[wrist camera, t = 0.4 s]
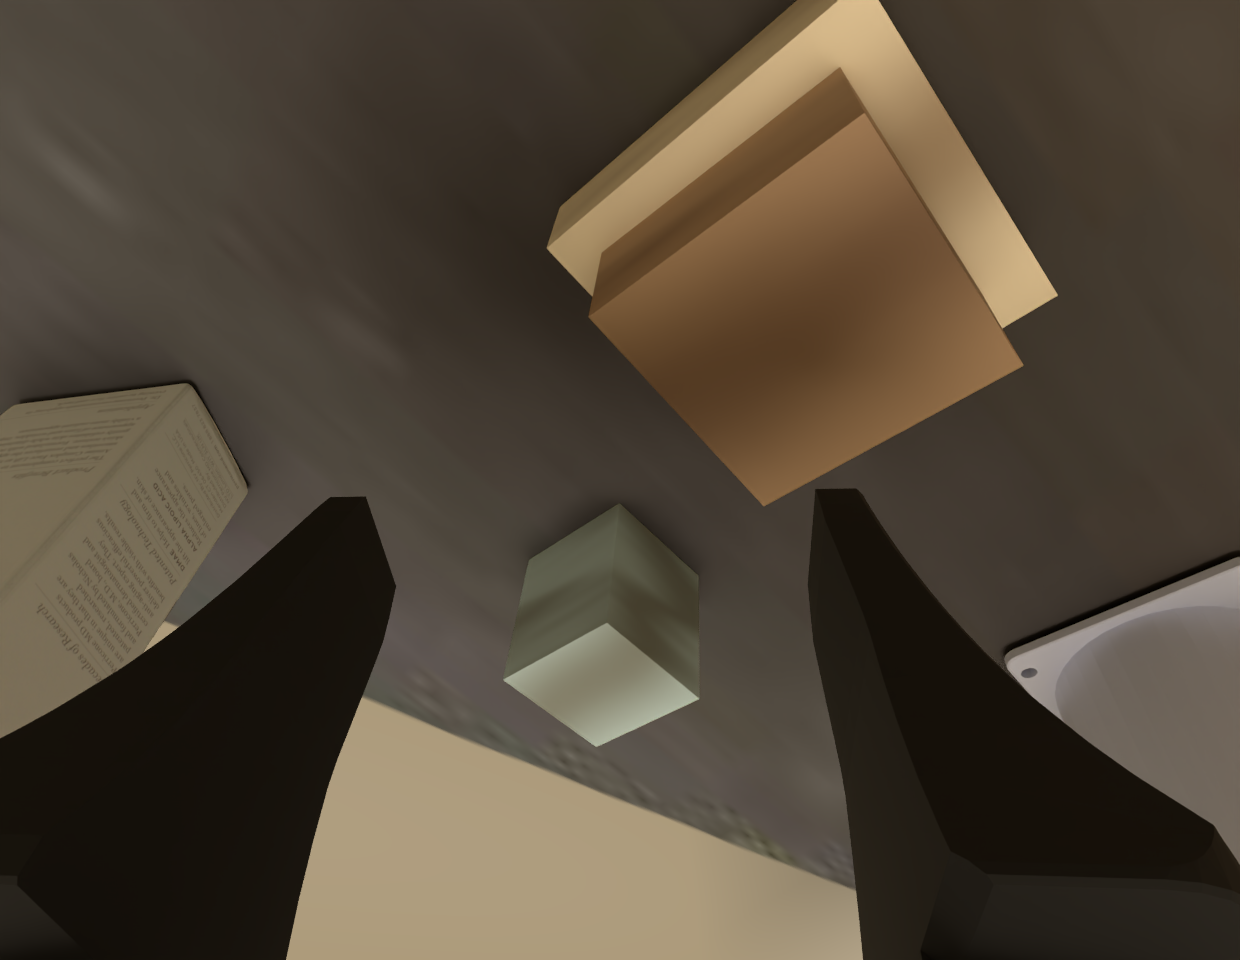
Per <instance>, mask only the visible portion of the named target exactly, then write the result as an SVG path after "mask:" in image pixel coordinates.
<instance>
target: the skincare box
mask: <svg viewBox="0 0 1240 960" xmlns="http://www.w3.org/2000/svg"><path fill="white" fill-rule="evenodd" d="M247 493H248V490H247V485H246V482H245V480H244V478H243V476H242V474H241V472H240V470H239V468H238V466H237V464H236V462H235V460H234V458H233V456H232V454H231V452H230V450H229V449H228V446H227V445H226V443H225V441H224V439H223V437H222V436H221V434H220V432H219V430H218V428H217V426H216V424H215V423H214V421H213V419H212V417H211V416H210V414H209V413H208V411H207V409H206V407H205V406H204V404H203V402H202V401H201V399H200V397H199V396H198V394H197V393H196V391H195V390H194V388H193V387H192V386H191V385H190V384H187V383H182V384H174V385H167V386H160V387H152V388H144V389H136V390H128V391H120V392H112V393H104V394H96V395H88V396H80V397H72V398H64V399H56V400H48V401H40V402H32V403H25V404H17V405H14V406H12V407H10V408H9V409H8V410H7V411H5V412H4V413H3V414H2V415H1V416H0V738H2V737H4V736H6V735H7V734H9V733H11V732H13V731H15V730H17V729H19V728H21V727H23V726H25V725H26V724H28V723H30V722H32V721H34V720H36V719H37V718H39V717H41V716H43V715H45V714H46V713H48V712H50V711H52V710H54V709H55V708H57V707H59V706H60V705H62V704H64V703H65V702H67V701H69V700H70V699H72V698H74V697H75V696H77V695H78V694H80V693H82V692H83V691H85V690H87V689H88V688H90V687H92V686H93V685H95V684H96V683H98V682H100V681H101V680H103V679H105V678H106V677H108V676H110V675H111V674H113V673H114V672H116V671H117V670H119V669H121V668H122V667H124V666H125V665H127V664H128V663H130V662H131V661H132V660H134V659H135V658H137V657H138V656H140V655H141V654H142V653H143V652H144V650H145V649H146V647H147V645H148V644H149V642H150V641H151V639H152V638H153V637H154V635H155V633H156V632H157V630H158V629H159V627H160V626H161V625H162V623H163V622H164V620H165V619H166V617H167V616H168V614H169V613H170V611H171V610H172V608H173V606H174V605H175V603H176V602H177V600H178V599H179V597H180V595H181V594H182V592H183V591H184V590H185V588H186V587H187V585H188V584H189V582H190V581H191V579H192V577H193V576H194V574H195V573H196V571H197V570H198V568H199V566H200V565H201V563H202V562H203V561H204V559H205V558H206V556H207V555H208V553H209V551H210V550H211V549H212V547H213V546H214V544H215V542H216V541H217V539H218V538H219V536H220V535H221V533H222V532H223V530H224V529H225V527H226V526H227V524H228V522H229V521H230V519H231V518H232V516H233V515H234V513H235V512H236V510H237V508H238V507H239V505H240V504H241V503H242V501H243V500H244V498H245V497H246V495H247Z"/></svg>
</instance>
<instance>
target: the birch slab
mask: <svg viewBox="0 0 1240 960" xmlns="http://www.w3.org/2000/svg"><path fill="white" fill-rule="evenodd" d="M839 67H840V68H841V69H842V71H843V72H844V74H845V76H846V77H847V79H848V80H849V82H850V84H851V85H852V87H853V88H854V90H855V92H856V93H857V95H858V96H859V98H860V100H861V101H862V103H863V104H864V106H865V108H866V109H867V111H868V112H869V114H870V116H871V117H872V119H873V120H874V122H875V124H876V125H877V127H878V128H879V130H880V132H881V133H882V135H883V136H884V138H885V140H886V141H887V143H888V144H889V146H890V147H891V149H892V151H893V152H894V154H895V155H896V157H897V159H898V160H899V162H900V163H901V165H902V167H903V168H904V170H905V171H906V173H907V175H908V176H909V178H910V179H911V181H912V183H913V184H914V186H915V187H916V189H917V191H918V192H919V194H920V195H921V197H922V199H923V200H924V202H925V203H926V205H927V207H928V208H929V210H930V211H931V213H932V215H933V216H934V218H935V219H936V221H937V223H938V224H939V226H940V227H941V229H942V231H943V232H944V234H945V235H946V237H947V239H948V240H949V242H950V243H951V245H952V247H953V248H954V250H955V251H956V253H957V255H958V256H959V258H960V259H961V261H962V262H963V264H964V266H965V267H966V269H967V270H968V272H969V274H970V275H971V277H972V278H973V280H974V282H975V283H976V285H977V286H978V288H979V290H980V291H981V293H982V294H983V296H984V298H985V300H986V301H987V303H988V305H989V307H990V308H991V310H992V312H993V313H994V315H995V317H996V319H997V320H998V322H999V324H1000V326H1001V327H1002V328H1004V327H1005V326H1007V325H1009V324H1010V323H1012V322H1014V321H1015V320H1017V319H1019V318H1020V317H1022V316H1024V315H1026V314H1027V313H1029V312H1031V311H1032V310H1034V309H1036V308H1037V307H1039V306H1041V305H1043V304H1044V303H1046V302H1048V301H1049V300H1051V299H1053V298H1054V297H1056V296H1058V295H1057V293H1056V291H1055V290H1054V288H1053V287H1052V285H1051V283H1050V282H1049V280H1048V278H1047V277H1046V275H1045V273H1044V272H1043V270H1042V268H1041V267H1040V265H1039V263H1038V262H1037V260H1036V259H1035V257H1034V255H1033V254H1032V252H1031V250H1030V249H1029V247H1028V245H1027V244H1026V242H1025V240H1024V239H1023V237H1022V236H1021V234H1020V232H1019V231H1018V229H1017V227H1016V226H1015V224H1014V222H1013V221H1012V219H1011V217H1010V216H1009V214H1008V212H1007V211H1006V209H1005V208H1004V206H1003V204H1002V203H1001V201H1000V199H999V198H998V196H997V194H996V193H995V191H994V189H993V188H992V186H991V184H990V183H989V181H988V180H987V178H986V176H985V175H984V173H983V171H982V170H981V168H980V166H979V165H978V163H977V161H976V160H975V158H974V157H973V155H972V153H971V152H970V150H969V148H968V147H967V145H966V143H965V142H964V140H963V138H962V137H961V135H960V133H959V132H958V130H957V129H956V127H955V125H954V124H953V122H952V120H951V119H950V117H949V115H948V114H947V112H946V110H945V109H944V107H943V105H942V104H941V102H940V101H939V99H938V97H937V96H936V94H935V92H934V91H933V89H932V87H931V86H930V84H929V82H928V81H927V79H926V78H925V76H924V74H923V73H922V71H921V69H920V68H919V66H918V64H917V63H916V61H915V59H914V58H913V56H912V54H911V53H910V51H909V50H908V48H907V46H906V45H905V43H904V41H903V40H902V38H901V36H900V35H899V33H898V31H897V30H896V28H895V26H894V25H893V23H892V22H891V20H890V18H889V17H888V15H887V13H886V12H885V10H884V8H883V7H882V5H881V3H880V2H879V0H797V1H796V2H794V3H793V4H792V5H791V6H790V7H789V8H788V9H786V10H785V11H784V12H783V13H782V14H781V15H780V16H778V17H777V18H776V19H775V20H774V21H773V22H772V23H770V24H769V25H768V26H767V27H766V28H765V29H764V30H762V31H761V32H760V33H759V34H758V35H757V36H755V37H754V38H753V39H752V40H751V41H750V42H749V43H747V44H746V45H745V46H744V47H743V48H742V49H741V50H739V51H738V52H737V53H736V54H735V55H734V56H733V57H731V58H730V59H729V60H728V61H727V62H726V63H724V64H723V65H722V66H721V67H720V68H719V69H718V70H716V71H715V72H714V73H713V74H712V75H711V76H710V77H708V78H707V79H706V80H705V81H704V82H703V83H702V84H700V85H699V86H698V87H697V88H696V89H695V90H694V91H692V92H691V93H690V94H689V95H688V96H687V97H685V98H684V99H683V100H682V101H681V102H680V103H679V104H677V105H676V106H675V107H674V108H673V109H672V110H671V111H669V112H668V113H667V114H666V115H665V116H664V117H663V118H661V119H660V120H659V121H658V122H657V123H656V124H654V125H653V126H652V127H651V128H650V129H649V130H648V131H646V132H645V133H644V134H643V135H642V136H641V137H640V138H638V139H637V140H636V141H635V142H634V143H633V144H632V145H630V146H629V147H628V148H627V149H626V150H625V151H623V152H622V153H621V154H620V155H619V156H618V157H617V158H615V159H614V160H613V161H612V162H611V163H610V164H609V165H607V166H606V167H605V168H604V169H603V170H602V171H601V172H599V173H598V174H597V175H596V176H595V177H594V178H593V179H591V180H590V181H589V182H588V183H587V184H586V185H584V186H583V187H582V188H581V189H580V190H579V191H578V192H576V193H575V194H574V195H573V196H572V197H571V198H570V199H568V200H567V201H566V202H565V203H564V204H563V205H562V206H560V208H559V211H558V214H557V217H556V220H555V224H554V227H553V230H552V233H551V236H550V239H549V242H548V245H547V249H548V250H549V251H550V253H551V254H552V255H553V256H554V257H555V258H556V259H557V260H558V261H559V262H560V263H561V264H562V265H563V266H564V267H565V268H566V269H567V271H568V272H569V273H570V274H571V275H572V276H573V277H574V278H575V279H576V280H577V281H578V282H579V283H580V284H581V285H582V286H583V287H584V289H585V290H586V291H587V292H588V293H589V294H590V295H591V296H592V297H593V292H594V287H595V282H596V277H597V273H598V268H599V263H600V258H601V253H602V252H603V251H604V250H606V249H607V248H608V247H609V246H611V245H612V244H613V243H615V242H616V241H617V240H618V239H620V238H621V237H622V236H624V235H625V234H626V233H627V232H629V231H630V230H631V229H633V228H634V227H635V226H636V225H638V224H639V223H640V222H642V221H643V220H644V219H645V218H647V217H648V216H649V215H651V214H652V213H653V212H654V211H656V210H657V209H658V208H660V207H661V206H662V205H663V204H665V203H666V202H667V201H668V200H670V199H671V198H672V197H674V196H675V195H676V194H677V193H679V192H680V191H681V190H683V189H684V188H685V187H686V186H688V185H689V184H690V183H692V182H693V181H694V180H695V179H697V178H698V177H699V176H701V175H702V174H703V173H704V172H706V171H707V170H708V169H710V168H711V167H712V166H713V165H715V164H716V163H717V162H719V161H720V160H721V159H722V158H724V157H725V156H726V155H728V154H729V153H730V152H731V151H733V150H734V149H735V148H737V147H738V146H739V145H740V144H742V143H743V142H744V141H746V140H747V139H748V138H749V137H751V136H752V135H753V134H755V133H756V132H757V131H758V130H760V129H761V128H762V127H764V126H765V125H766V124H767V123H769V122H770V121H771V120H773V119H774V118H775V117H776V116H778V115H779V114H780V113H782V112H783V111H784V110H785V109H787V108H788V107H789V106H791V105H792V104H793V103H794V102H796V101H797V100H798V99H800V98H801V97H802V96H803V95H805V94H806V93H807V92H809V91H810V90H811V89H812V88H814V87H815V86H816V85H818V84H819V83H820V82H821V81H823V80H824V79H825V78H827V77H828V76H829V75H830V74H832V73H833V72H834V71H836V70H837V69H838V68H839Z"/></svg>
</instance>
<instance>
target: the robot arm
mask: <svg viewBox="0 0 1240 960" xmlns="http://www.w3.org/2000/svg"><path fill="white" fill-rule="evenodd" d="M395 588H396V585H395V582H394V579H393V576H392V573H391V570H390V567H389V564H388V561H387V558H386V555H385V552H384V549H383V546H382V543H381V540H380V537H379V534H378V532H377V529H376V526H375V523H374V520H373V517H372V514H371V511H370V508H369V505H368V502H367V499H366V497H330V498H329V499H327V500H326V501H325V502H324V503H323V504H321V505H320V506H319V507H318V508H317V509H315V510H314V511H313V512H312V513H311V514H310V515H309V516H308V517H306V518H305V519H304V520H303V521H302V522H301V523H300V524H299V525H298V526H297V527H295V528H294V529H293V530H292V531H291V532H290V533H289V534H288V535H287V536H286V537H284V538H283V539H282V540H281V541H280V542H279V543H278V544H277V545H276V546H275V547H273V548H272V549H271V550H270V551H269V552H268V553H267V554H266V555H264V556H263V557H262V558H261V559H260V560H259V561H258V562H257V563H256V564H254V565H253V566H252V567H251V568H250V569H249V570H248V571H247V572H245V573H244V574H243V575H242V576H241V577H240V578H239V579H237V580H236V581H235V582H234V583H233V584H232V585H230V586H229V587H228V588H227V589H225V590H224V591H223V592H222V593H221V594H219V595H218V596H217V597H216V598H214V599H213V600H212V601H211V602H210V603H208V604H207V605H206V606H205V607H203V608H202V609H201V610H200V611H199V612H197V613H196V614H195V615H194V616H192V617H191V618H190V619H189V620H188V621H186V622H185V623H184V624H182V625H181V626H180V627H178V628H177V629H176V630H175V631H173V632H172V633H171V634H169V635H168V636H166V637H165V638H164V639H162V640H161V641H160V642H158V643H157V644H155V645H154V646H153V647H151V648H150V649H148V650H147V651H145V652H144V653H142V654H141V655H140V656H138V657H137V658H135V659H134V660H132V661H131V662H130V663H128V664H127V665H125V666H124V667H122V668H121V669H119V670H117V671H116V672H114V673H113V674H111V675H110V676H108V677H106V678H105V679H103V680H101V681H100V682H98V683H96V684H95V685H93V686H92V687H90V688H88V689H87V690H85V691H83V692H82V693H80V694H78V695H77V696H75V697H74V698H72V699H70V700H69V701H67V702H65V703H64V704H62V705H60V706H59V707H57V708H55V709H54V710H52V711H50V712H48V713H46V714H45V715H43V716H41V717H39V718H37V719H36V720H34V721H32V722H30V723H28V724H26V725H25V726H23V727H21V728H19V729H17V730H15V731H13V732H11V733H9V734H7V735H6V736H4V737H2V738H0V960H286V957H287V952H288V947H289V942H290V938H291V933H292V928H293V924H294V919H295V914H296V910H297V905H298V901H299V896H300V892H301V888H302V884H303V880H304V876H305V872H306V868H307V864H308V860H309V856H310V852H311V847H312V843H313V839H314V836H315V832H316V828H317V825H318V821H319V817H320V814H321V810H322V807H323V803H324V799H325V795H326V792H327V788H328V785H329V782H330V779H331V776H332V773H333V770H334V767H335V764H336V762H337V758H338V756H339V753H340V751H341V748H342V746H343V743H344V741H345V738H346V736H347V733H348V730H349V728H350V726H351V723H352V721H353V718H354V716H355V713H356V710H357V708H358V705H359V703H360V700H361V698H362V695H363V693H364V690H365V688H366V685H367V683H368V680H369V677H370V675H371V672H372V669H373V667H374V664H375V662H376V659H377V656H378V654H379V651H380V648H381V646H382V643H383V640H384V636H385V632H386V628H387V624H388V620H389V616H390V611H391V607H392V602H393V598H394V593H395ZM808 590H809V601H810V612H811V622H812V632H813V642H814V647H815V652H816V656H817V661H818V666H819V670H820V675H821V680H822V684H823V689H824V694H825V698H826V703H827V707H828V712H829V716H830V721H831V726H832V730H833V735H834V739H835V744H836V748H837V753H838V758H839V762H840V767H841V772H842V778H843V784H844V790H845V795H846V804H847V812H848V821H849V829H850V838H851V847H852V855H853V865H854V874H855V884H856V893H857V902H858V912H859V920H860V932H861V942H862V952H863V960H1240V557H1237V558H1233V559H1231V560H1229V561H1226V562H1224V563H1221V564H1219V565H1216V566H1214V567H1212V568H1209V569H1207V570H1204V571H1202V572H1199V573H1197V574H1195V575H1192V576H1190V577H1187V578H1185V579H1182V580H1180V581H1178V582H1175V583H1173V584H1170V585H1168V586H1165V587H1163V588H1161V589H1158V590H1156V591H1153V592H1151V593H1148V594H1146V595H1144V596H1141V597H1139V598H1136V599H1134V600H1132V601H1129V602H1127V603H1124V604H1122V605H1119V606H1117V607H1115V608H1112V609H1110V610H1107V611H1105V612H1102V613H1100V614H1098V615H1095V616H1093V617H1090V618H1088V619H1085V620H1083V621H1081V622H1078V623H1076V624H1073V625H1071V626H1068V627H1066V628H1064V629H1061V630H1059V631H1056V632H1054V633H1051V634H1049V635H1047V636H1044V637H1042V638H1039V639H1037V640H1035V641H1032V642H1030V643H1027V644H1025V645H1022V646H1020V647H1018V648H1015V649H1013V650H1011V651H1009V652H1008V653H1007V654H1006V655H1005V658H1004V661H1005V663H1006V666H1007V668H1008V670H1009V671H1010V673H1011V674H1012V675H1013V676H1014V677H1015V678H1016V679H1017V681H1018V682H1019V683H1020V684H1021V685H1022V686H1023V687H1024V688H1025V689H1023V688H1022V687H1021V686H1020V685H1019V684H1018V683H1017V682H1016V681H1015V680H1013V679H1012V678H1011V677H1010V676H1009V675H1008V674H1007V673H1006V672H1005V671H1004V670H1003V669H1002V668H1001V667H1000V666H999V665H998V664H997V663H996V662H995V661H993V660H992V659H991V658H990V657H989V656H988V655H987V654H986V653H985V652H984V651H983V650H982V649H981V648H980V647H979V646H978V645H977V643H976V642H975V641H974V640H973V639H972V638H971V637H970V636H969V635H968V634H967V633H966V632H965V631H964V630H963V629H962V628H961V626H960V625H959V624H958V623H957V622H956V621H955V620H954V618H953V617H952V616H951V615H950V614H949V613H948V612H947V611H946V609H945V608H944V607H943V606H942V605H941V604H940V602H939V601H938V600H937V599H936V598H935V596H934V595H933V594H932V593H931V592H930V590H929V589H928V588H927V587H926V585H925V584H924V583H923V581H922V580H921V579H920V578H919V576H918V575H917V574H916V572H915V571H914V570H913V569H912V567H911V566H910V565H909V563H908V562H907V561H906V559H905V558H904V557H903V555H902V554H901V553H900V551H899V550H898V548H897V547H896V546H895V544H894V543H893V541H892V540H891V538H890V537H889V536H888V534H887V533H886V531H885V530H884V528H883V527H882V525H881V524H880V522H879V521H878V519H877V518H876V516H875V514H874V513H873V511H872V510H871V508H870V506H869V505H868V503H867V501H866V500H865V498H864V496H863V495H862V494H861V493H860V492H859V491H858V490H857V489H815V502H814V515H813V527H812V540H811V552H810V565H809V577H808Z"/></svg>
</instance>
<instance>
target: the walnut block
mask: <svg viewBox="0 0 1240 960" xmlns="http://www.w3.org/2000/svg"><path fill="white" fill-rule="evenodd" d="M588 317H589V318H590V319H591V320H592V322H593V323H594V324H595V325H596V326H597V327H598V328H599V329H600V330H601V331H602V332H603V333H604V334H605V336H606V337H607V338H608V339H609V340H610V341H611V342H612V343H613V344H614V345H615V346H616V347H617V349H618V350H619V351H620V352H621V353H622V354H623V355H624V356H625V357H626V358H627V359H628V360H629V361H630V363H631V364H632V365H633V366H634V367H635V368H636V369H637V370H638V371H639V372H640V373H641V374H642V375H643V377H644V378H645V379H646V380H647V381H648V382H649V383H650V384H651V385H652V386H653V387H654V388H655V390H656V391H657V392H658V393H659V394H660V395H661V396H662V397H663V398H664V399H665V400H666V401H667V402H668V404H669V405H670V406H671V407H672V408H673V409H674V410H675V411H676V412H677V413H678V414H679V415H680V416H681V418H682V419H683V420H684V421H685V422H686V423H687V424H688V425H689V426H690V427H691V428H692V429H693V431H694V432H695V433H696V434H697V435H698V436H699V437H700V438H701V439H702V440H703V441H704V442H705V443H706V445H707V446H708V447H709V448H710V449H711V450H712V451H713V452H714V453H715V454H716V455H717V456H718V457H719V459H720V460H721V461H722V462H723V463H724V464H725V465H726V466H727V467H728V468H729V469H730V470H731V472H732V473H733V474H734V475H735V476H736V477H737V478H738V479H739V480H740V481H741V482H742V483H743V484H744V486H745V487H746V488H747V489H748V490H749V491H750V492H751V493H752V494H753V495H754V496H755V497H756V498H757V500H758V501H759V502H760V503H761V504H762V505H763V506H765V505H767V504H769V503H771V502H773V501H775V500H776V499H778V498H780V497H782V496H784V495H786V494H788V493H789V492H791V491H793V490H795V489H797V488H799V487H800V486H802V485H804V484H806V483H808V482H810V481H812V480H813V479H815V478H817V477H819V476H821V475H823V474H824V473H826V472H828V471H830V470H832V469H834V468H836V467H837V466H839V465H841V464H843V463H845V462H847V461H848V460H850V459H852V458H854V457H856V456H858V455H860V454H861V453H863V452H865V451H867V450H869V449H871V448H872V447H874V446H876V445H878V444H880V443H882V442H884V441H885V440H887V439H889V438H891V437H893V436H895V435H896V434H898V433H900V432H902V431H904V430H906V429H907V428H909V427H911V426H913V425H915V424H917V423H919V422H920V421H922V420H924V419H926V418H928V417H930V416H931V415H933V414H935V413H937V412H939V411H941V410H943V409H944V408H946V407H948V406H950V405H952V404H954V403H955V402H957V401H959V400H961V399H963V398H965V397H967V396H968V395H970V394H972V393H974V392H976V391H978V390H979V389H981V388H983V387H985V386H987V385H989V384H991V383H992V382H994V381H996V380H998V379H1000V378H1002V377H1003V376H1005V375H1007V374H1009V373H1011V372H1013V371H1015V370H1016V369H1018V368H1020V367H1022V366H1024V365H1023V364H1022V362H1021V360H1020V358H1019V357H1018V355H1017V353H1016V352H1015V350H1014V348H1013V346H1012V345H1011V343H1010V341H1009V339H1008V338H1007V336H1006V334H1005V332H1004V331H1003V329H1002V327H1001V326H1000V324H999V322H998V320H997V319H996V317H995V315H994V313H993V312H992V310H991V308H990V307H989V305H988V303H987V301H986V300H985V298H984V296H983V294H982V293H981V291H980V290H979V288H978V286H977V285H976V283H975V282H974V280H973V278H972V277H971V275H970V274H969V272H968V270H967V269H966V267H965V266H964V264H963V262H962V261H961V259H960V258H959V256H958V255H957V253H956V251H955V250H954V248H953V247H952V245H951V243H950V242H949V240H948V239H947V237H946V235H945V234H944V232H943V231H942V229H941V227H940V226H939V224H938V223H937V221H936V219H935V218H934V216H933V215H932V213H931V211H930V210H929V208H928V207H927V205H926V203H925V202H924V200H923V199H922V197H921V195H920V194H919V192H918V191H917V189H916V187H915V186H914V184H913V183H912V181H911V179H910V178H909V176H908V175H907V173H906V171H905V170H904V168H903V167H902V165H901V163H900V162H899V160H898V159H897V157H896V155H895V154H894V152H893V151H892V149H891V147H890V146H889V144H888V143H887V141H886V140H885V138H884V136H883V135H882V133H881V132H880V130H879V128H878V127H877V125H876V124H875V122H874V120H873V119H872V117H871V116H870V114H869V112H868V111H867V109H866V108H865V106H864V104H863V103H862V101H861V100H860V98H859V96H858V95H857V93H856V92H855V90H854V88H853V87H852V85H851V84H850V82H849V80H848V79H847V77H846V76H845V74H844V72H843V71H842V69H841V68H840V67H839V68H838V69H837V70H836V71H834V72H833V73H832V74H830V75H829V76H828V77H827V78H825V79H824V80H823V81H821V82H820V83H819V84H818V85H816V86H815V87H814V88H812V89H811V90H810V91H809V92H807V93H806V94H805V95H803V96H802V97H801V98H800V99H798V100H797V101H796V102H794V103H793V104H792V105H791V106H789V107H788V108H787V109H785V110H784V111H783V112H782V113H780V114H779V115H778V116H776V117H775V118H774V119H773V120H771V121H770V122H769V123H767V124H766V125H765V126H764V127H762V128H761V129H760V130H758V131H757V132H756V133H755V134H753V135H752V136H751V137H749V138H748V139H747V140H746V141H744V142H743V143H742V144H740V145H739V146H738V147H737V148H735V149H734V150H733V151H731V152H730V153H729V154H728V155H726V156H725V157H724V158H722V159H721V160H720V161H719V162H717V163H716V164H715V165H713V166H712V167H711V168H710V169H708V170H707V171H706V172H704V173H703V174H702V175H701V176H699V177H698V178H697V179H695V180H694V181H693V182H692V183H690V184H689V185H688V186H686V187H685V188H684V189H683V190H681V191H680V192H679V193H677V194H676V195H675V196H674V197H672V198H671V199H670V200H668V201H667V202H666V203H665V204H663V205H662V206H661V207H660V208H658V209H657V210H656V211H654V212H653V213H652V214H651V215H649V216H648V217H647V218H645V219H644V220H643V221H642V222H640V223H639V224H638V225H636V226H635V227H634V228H633V229H631V230H630V231H629V232H627V233H626V234H625V235H624V236H622V237H621V238H620V239H618V240H617V241H616V242H615V243H613V244H612V245H611V246H609V247H608V248H607V249H606V250H604V251H603V252H602V253H601V258H600V263H599V268H598V273H597V277H596V282H595V287H594V292H593V297H592V302H591V307H590V312H589V316H588Z"/></svg>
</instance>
